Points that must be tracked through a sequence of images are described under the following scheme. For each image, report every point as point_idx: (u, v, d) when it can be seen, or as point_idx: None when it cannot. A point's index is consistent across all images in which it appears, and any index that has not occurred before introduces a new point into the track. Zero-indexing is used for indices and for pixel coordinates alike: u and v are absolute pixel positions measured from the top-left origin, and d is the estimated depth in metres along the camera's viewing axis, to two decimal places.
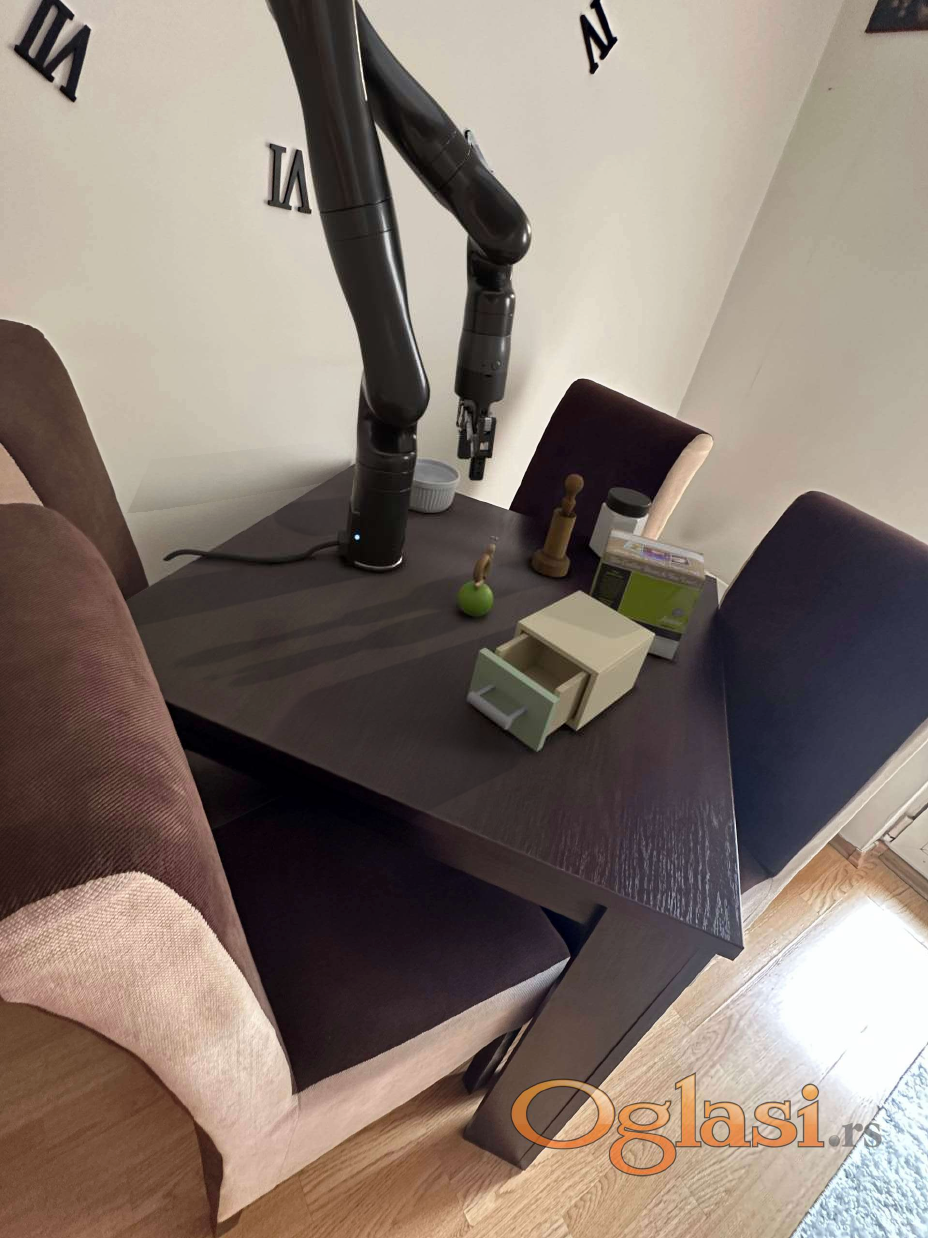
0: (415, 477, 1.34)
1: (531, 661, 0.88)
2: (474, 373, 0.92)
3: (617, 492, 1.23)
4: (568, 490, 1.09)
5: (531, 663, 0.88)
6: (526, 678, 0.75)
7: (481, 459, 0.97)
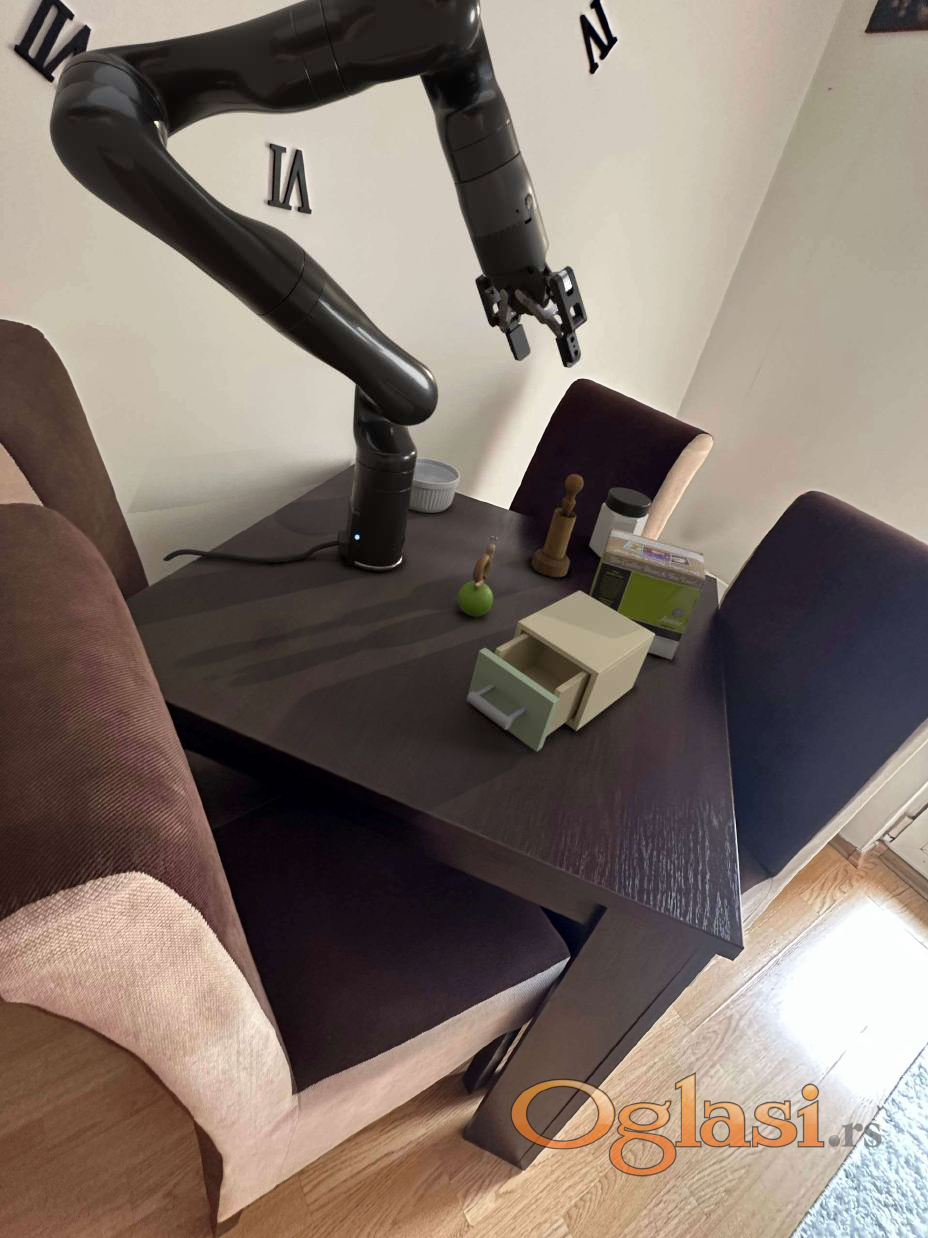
0: (415, 477, 1.34)
1: (531, 661, 0.88)
2: (511, 230, 0.64)
3: (617, 492, 1.23)
4: (568, 490, 1.09)
5: (531, 663, 0.88)
6: (526, 678, 0.75)
7: (572, 332, 0.71)
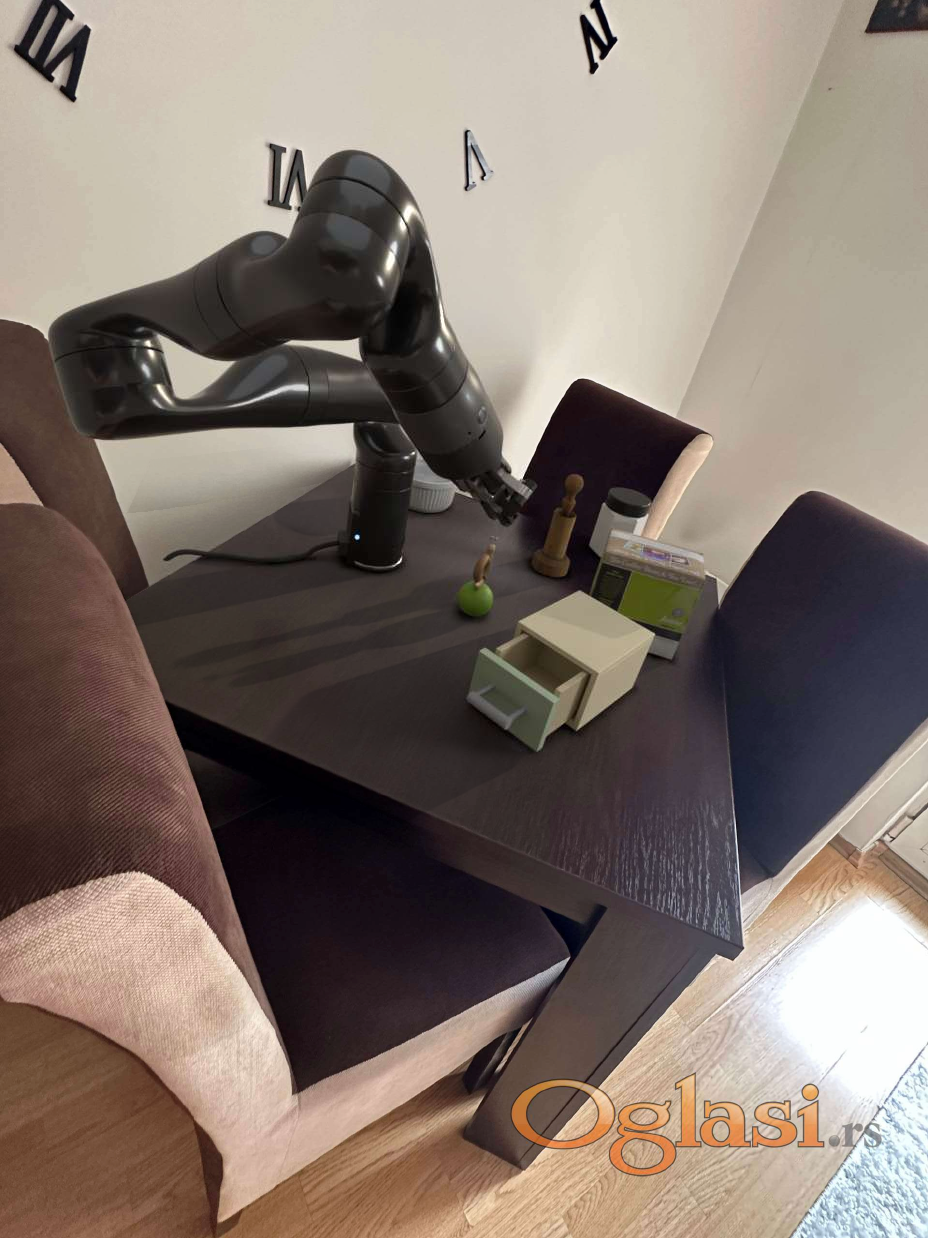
0: (415, 477, 1.34)
1: (531, 661, 0.88)
2: (463, 450, 0.54)
3: (617, 492, 1.23)
4: (568, 490, 1.09)
5: (531, 663, 0.88)
6: (526, 678, 0.75)
7: None
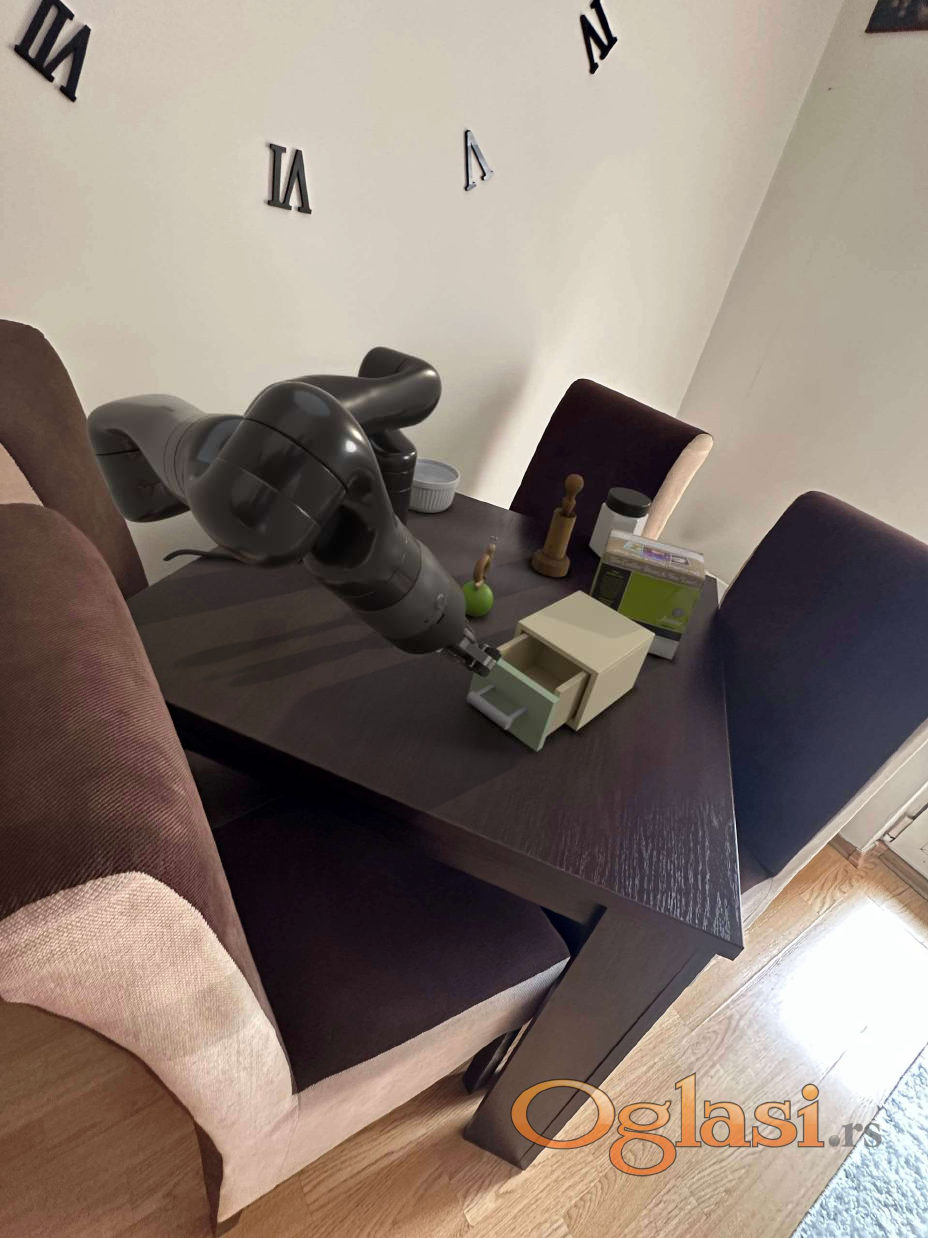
0: (415, 477, 1.34)
1: (531, 661, 0.88)
2: (420, 635, 0.50)
3: (617, 492, 1.23)
4: (568, 490, 1.09)
5: (531, 663, 0.88)
6: (526, 678, 0.75)
7: None
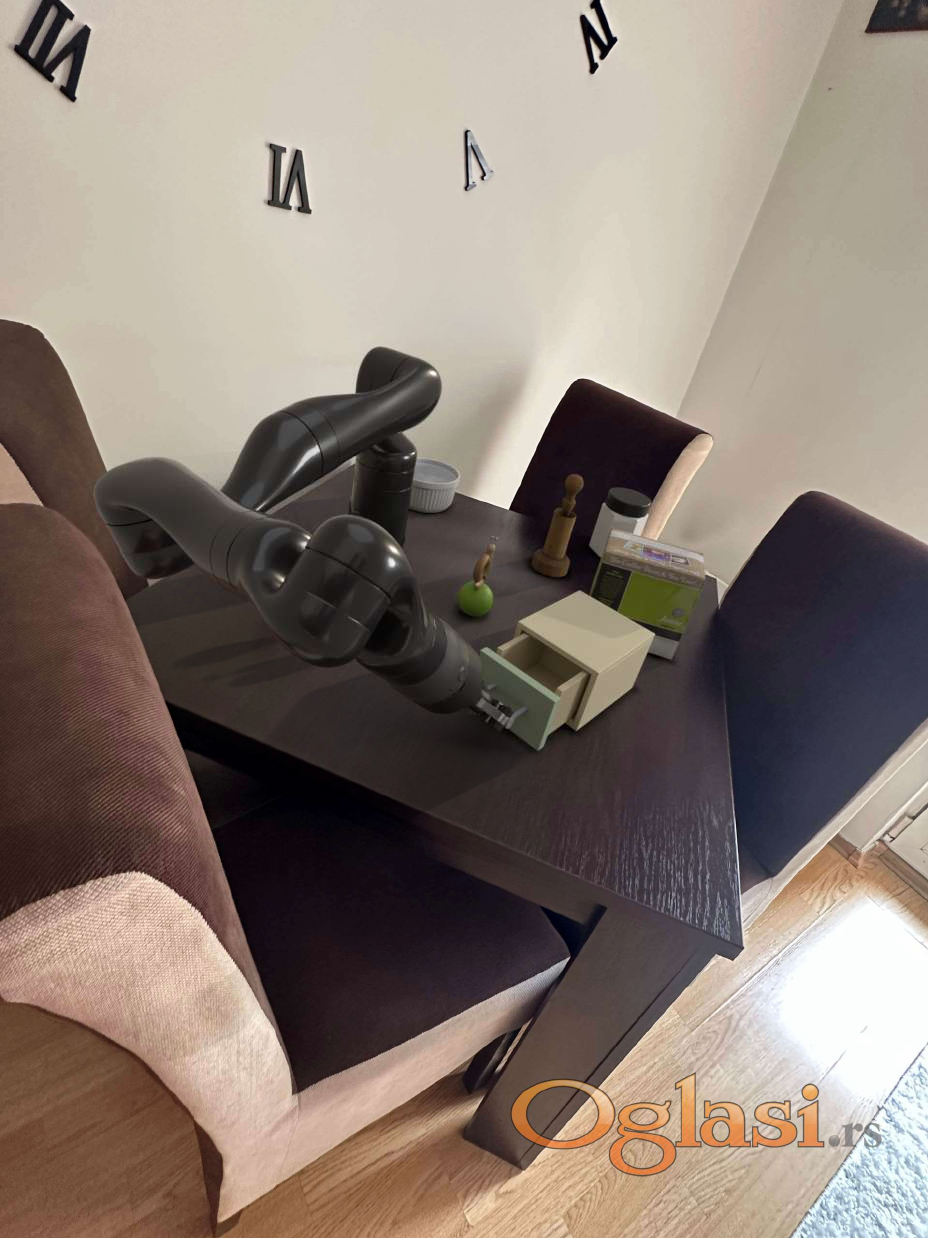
0: (415, 477, 1.34)
1: (532, 661, 0.88)
2: (444, 701, 0.58)
3: (617, 492, 1.23)
4: (568, 490, 1.09)
5: (532, 662, 0.89)
6: (527, 677, 0.76)
7: None
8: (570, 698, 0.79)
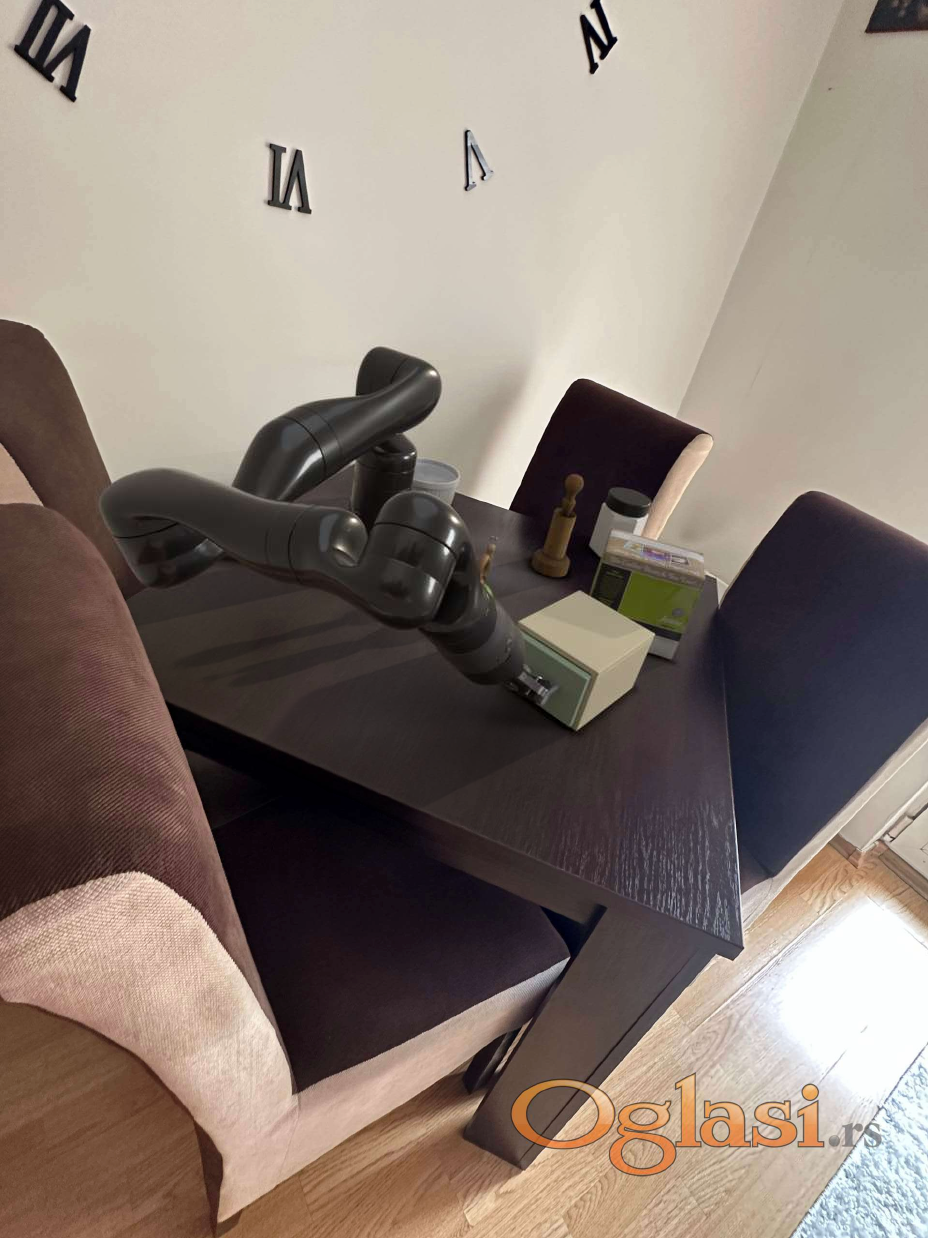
0: (415, 477, 1.34)
1: None
2: (491, 671, 0.63)
3: (617, 492, 1.23)
4: (568, 490, 1.09)
5: None
6: (560, 657, 0.80)
7: None
8: None
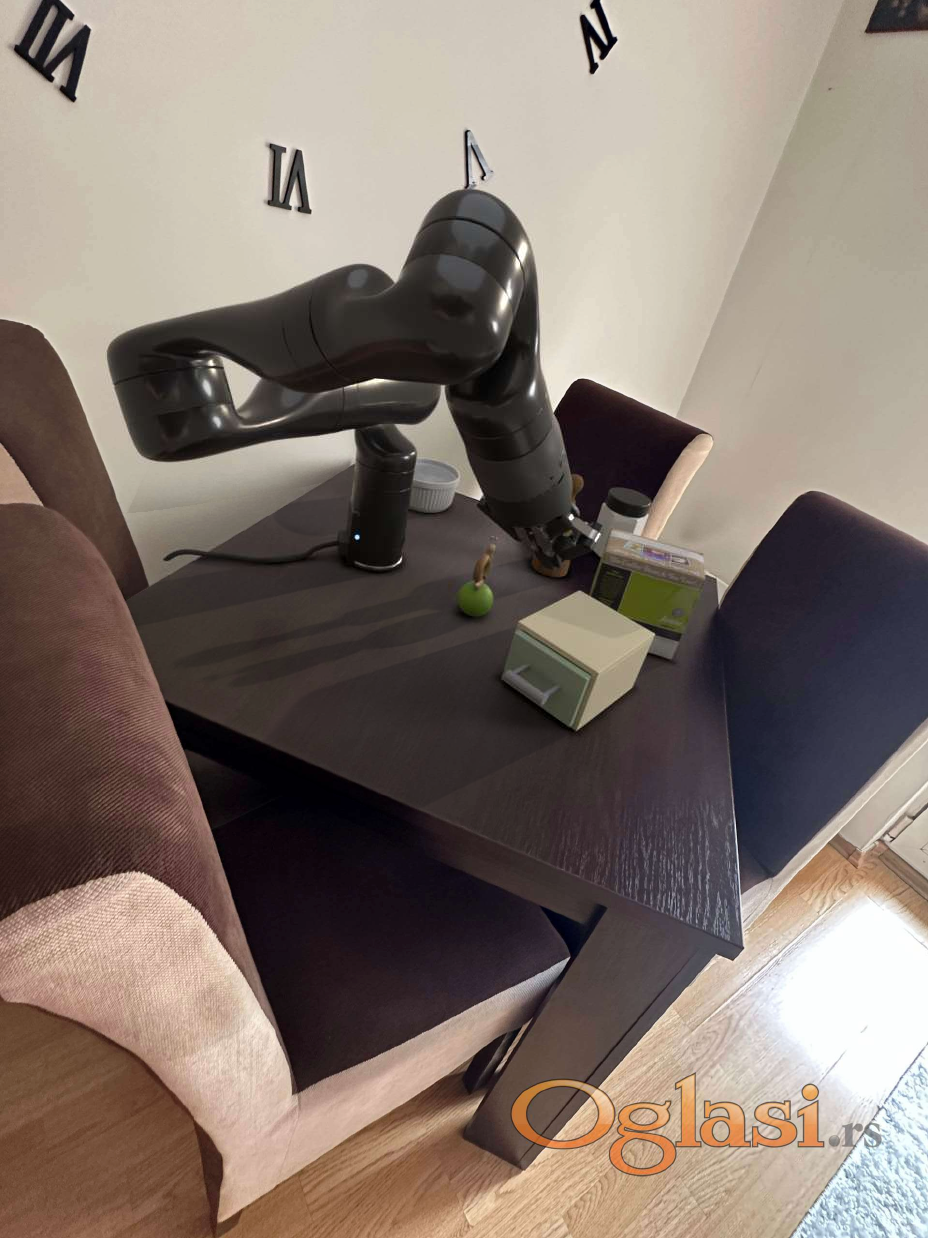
0: (415, 477, 1.34)
1: None
2: (543, 495, 0.51)
3: (617, 492, 1.23)
4: None
5: None
6: (560, 657, 0.80)
7: None
8: None
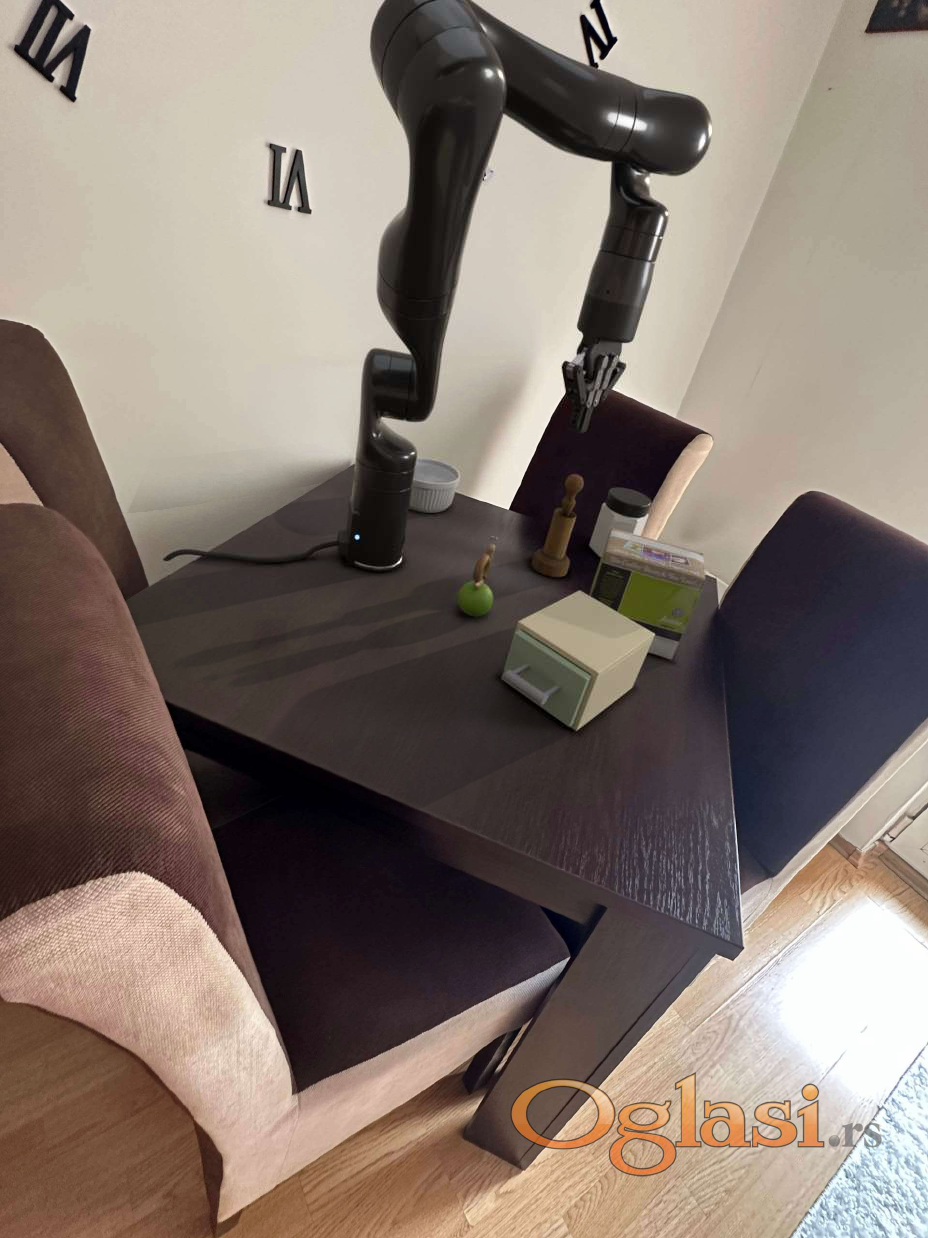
0: (415, 477, 1.34)
1: None
2: None
3: (617, 492, 1.23)
4: (568, 490, 1.09)
5: None
6: (560, 657, 0.80)
7: None
8: None
